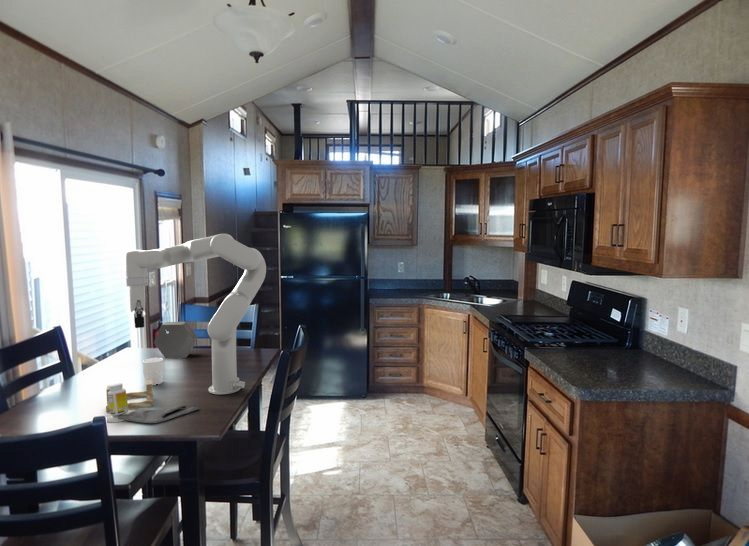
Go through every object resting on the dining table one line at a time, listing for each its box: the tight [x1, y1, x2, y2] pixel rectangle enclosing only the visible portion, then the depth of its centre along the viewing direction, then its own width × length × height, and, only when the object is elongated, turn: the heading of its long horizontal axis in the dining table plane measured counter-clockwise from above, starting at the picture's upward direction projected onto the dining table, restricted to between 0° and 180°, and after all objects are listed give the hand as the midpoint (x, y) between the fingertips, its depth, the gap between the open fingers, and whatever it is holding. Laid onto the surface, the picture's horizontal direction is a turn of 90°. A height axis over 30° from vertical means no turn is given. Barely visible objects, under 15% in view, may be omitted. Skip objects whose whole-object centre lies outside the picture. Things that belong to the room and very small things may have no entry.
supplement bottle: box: [108, 382, 129, 416], centre depth 160 cm, size 6×6×10 cm
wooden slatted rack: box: [105, 380, 154, 413], centre depth 173 cm, size 15×13×7 cm
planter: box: [153, 321, 198, 359], centre depth 239 cm, size 17×8×21 cm
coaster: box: [104, 409, 134, 424], centre depth 160 cm, size 10×10×1 cm
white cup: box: [142, 357, 164, 386], centre depth 196 cm, size 8×8×10 cm
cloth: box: [118, 404, 200, 424], centre depth 160 cm, size 26×14×2 cm, turn 100°
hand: (139, 325), depth 180 cm, fingers open, 9 cm apart
